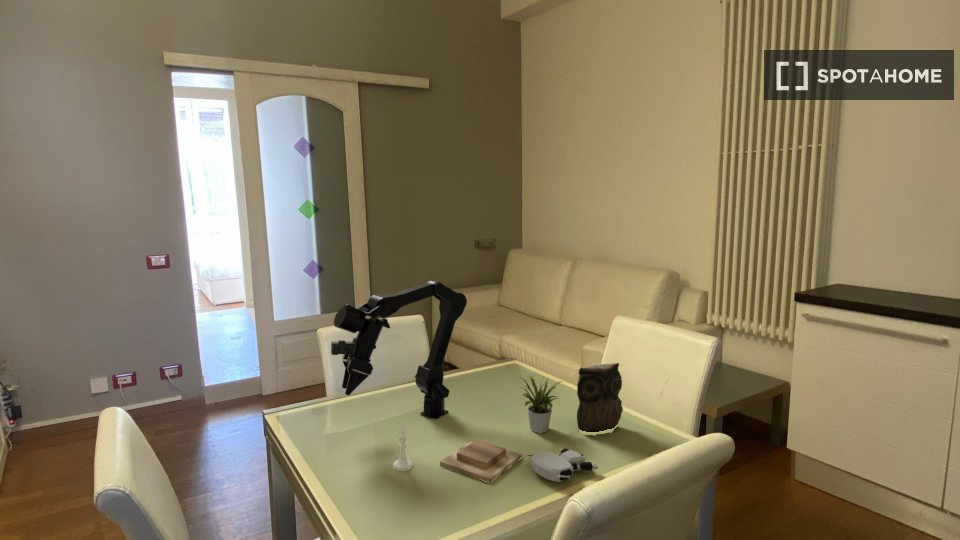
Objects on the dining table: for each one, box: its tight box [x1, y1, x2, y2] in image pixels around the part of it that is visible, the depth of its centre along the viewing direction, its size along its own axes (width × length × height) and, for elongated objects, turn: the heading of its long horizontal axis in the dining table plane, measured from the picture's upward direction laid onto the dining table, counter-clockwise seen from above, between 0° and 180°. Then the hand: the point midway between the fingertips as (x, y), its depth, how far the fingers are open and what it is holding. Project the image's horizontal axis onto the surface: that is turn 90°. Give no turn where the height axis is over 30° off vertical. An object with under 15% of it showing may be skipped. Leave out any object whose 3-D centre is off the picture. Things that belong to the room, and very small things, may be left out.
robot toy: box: [524, 447, 599, 483], centre depth 128 cm, size 12×4×15 cm
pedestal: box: [439, 438, 523, 484], centre depth 133 cm, size 15×15×3 cm
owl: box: [576, 362, 624, 432], centre depth 151 cm, size 13×13×20 cm
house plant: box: [516, 375, 563, 434], centre depth 152 cm, size 14×14×16 cm
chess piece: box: [392, 427, 414, 472], centre depth 130 cm, size 5×5×10 cm
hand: (345, 391), depth 144 cm, fingers open, 9 cm apart
